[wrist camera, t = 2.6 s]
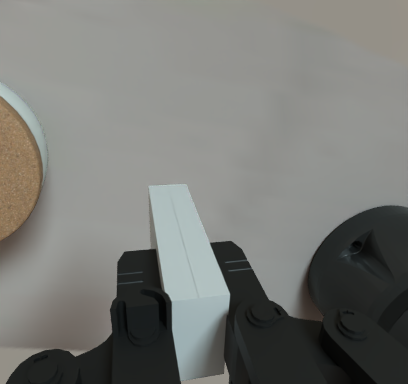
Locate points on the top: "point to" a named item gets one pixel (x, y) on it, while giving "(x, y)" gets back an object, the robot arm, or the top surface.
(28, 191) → the lidded jar
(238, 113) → the top surface
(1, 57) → the top surface
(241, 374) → the robot arm
